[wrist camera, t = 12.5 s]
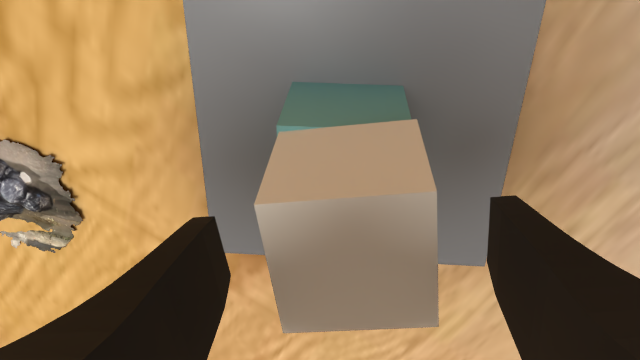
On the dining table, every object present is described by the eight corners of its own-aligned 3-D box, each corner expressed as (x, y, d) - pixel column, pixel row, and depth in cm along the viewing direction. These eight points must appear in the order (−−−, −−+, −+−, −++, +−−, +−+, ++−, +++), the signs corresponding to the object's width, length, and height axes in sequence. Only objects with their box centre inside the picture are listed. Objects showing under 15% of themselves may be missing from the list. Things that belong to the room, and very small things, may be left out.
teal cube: (403, 85, 17) (414, 130, 14) (393, 182, 19) (400, 242, 16) (292, 81, 18) (276, 125, 14) (293, 177, 20) (280, 236, 16)
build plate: (541, -37, 16) (553, -33, 15) (478, 249, 22) (484, 266, 21) (189, -44, 17) (177, -41, 16) (219, 236, 23) (212, 252, 22)
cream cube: (417, 119, 14) (437, 191, 10) (420, 233, 16) (438, 326, 12) (278, 131, 14) (253, 204, 11) (299, 241, 16) (283, 332, 13)
